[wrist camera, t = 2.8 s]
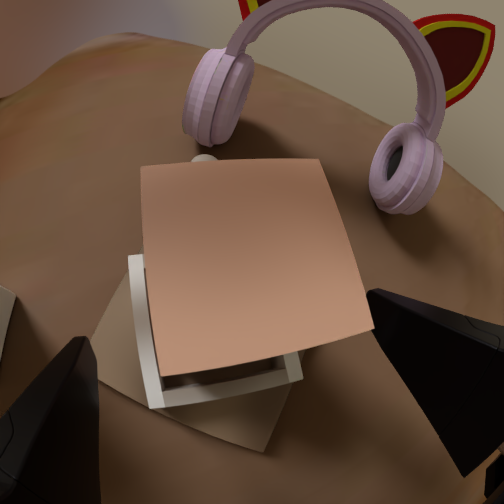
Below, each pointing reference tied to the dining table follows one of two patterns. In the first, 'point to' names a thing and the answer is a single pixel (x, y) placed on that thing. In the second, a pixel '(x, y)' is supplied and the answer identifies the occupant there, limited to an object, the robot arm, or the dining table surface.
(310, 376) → the dining table surface
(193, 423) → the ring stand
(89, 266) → the dining table surface
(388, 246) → the dining table surface
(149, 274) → the peg
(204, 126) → the headphones
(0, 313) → the milk carton
